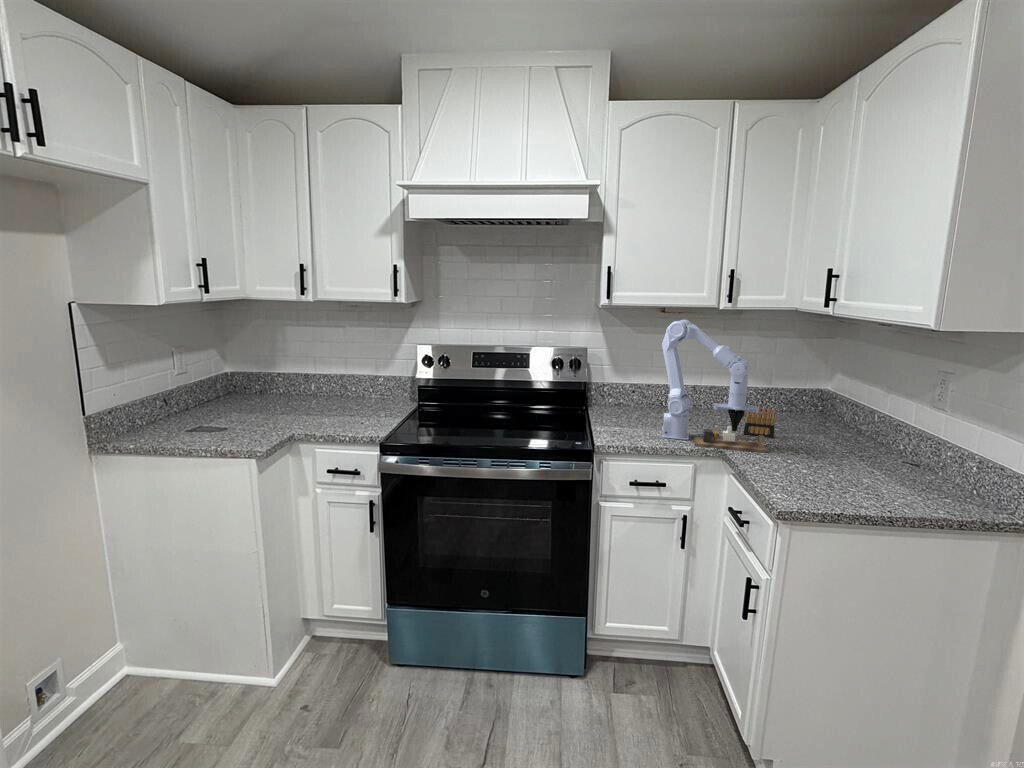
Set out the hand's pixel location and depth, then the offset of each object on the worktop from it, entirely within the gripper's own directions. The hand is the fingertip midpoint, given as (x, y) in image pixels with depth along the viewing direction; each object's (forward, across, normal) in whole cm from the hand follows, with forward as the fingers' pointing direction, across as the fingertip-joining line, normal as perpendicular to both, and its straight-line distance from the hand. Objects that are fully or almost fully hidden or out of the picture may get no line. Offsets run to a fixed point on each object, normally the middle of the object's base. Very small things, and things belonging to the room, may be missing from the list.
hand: (734, 430), depth 199 cm
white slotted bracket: (+4, -2, 0) cm, 4 cm away
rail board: (+6, -1, 0) cm, 6 cm away
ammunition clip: (+6, +11, +17) cm, 21 cm away
